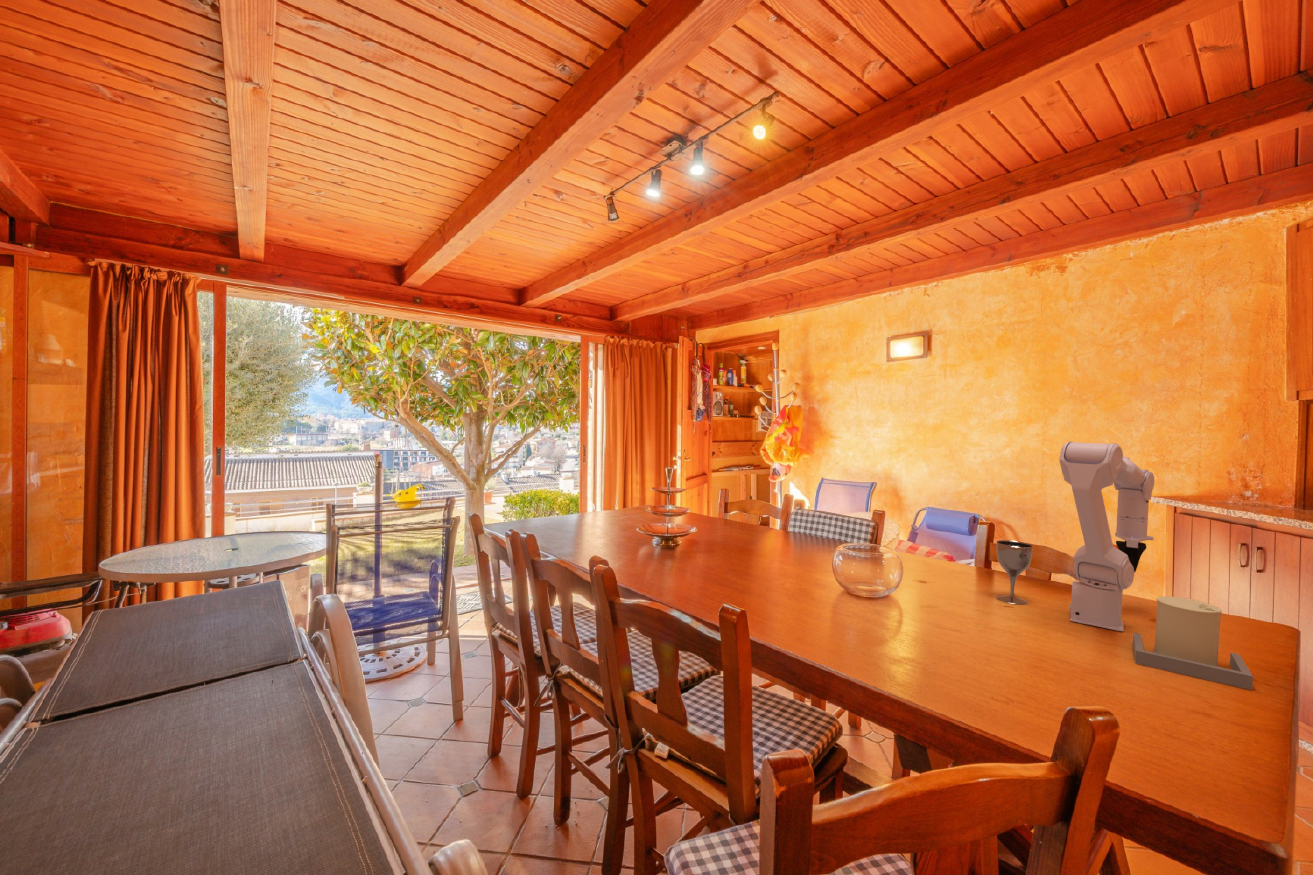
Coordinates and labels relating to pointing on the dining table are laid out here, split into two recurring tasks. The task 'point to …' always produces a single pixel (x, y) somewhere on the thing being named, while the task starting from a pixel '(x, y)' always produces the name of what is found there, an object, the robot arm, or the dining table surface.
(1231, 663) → the holder
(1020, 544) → the wine glass
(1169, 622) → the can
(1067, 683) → the dining table surface
